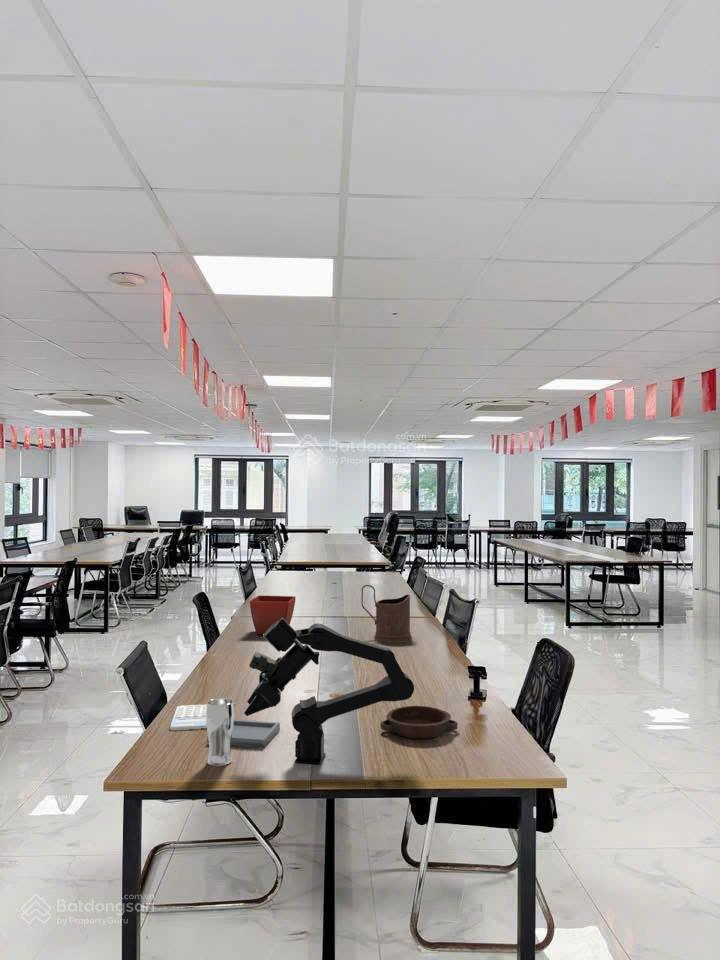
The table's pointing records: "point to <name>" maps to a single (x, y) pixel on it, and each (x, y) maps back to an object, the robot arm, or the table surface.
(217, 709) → the silver metal cup
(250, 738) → the grey tray
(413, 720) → the dish
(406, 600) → the brown pitcher
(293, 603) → the plant pot
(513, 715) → the table surface
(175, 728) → the calculator
